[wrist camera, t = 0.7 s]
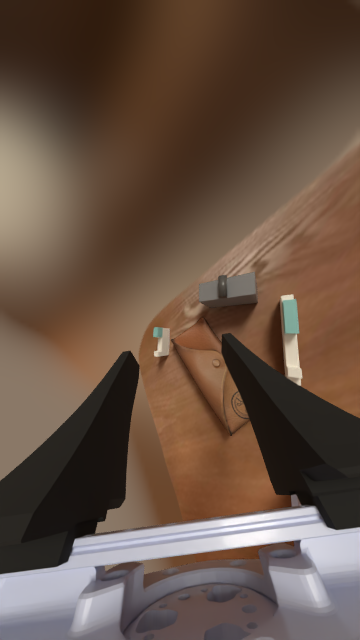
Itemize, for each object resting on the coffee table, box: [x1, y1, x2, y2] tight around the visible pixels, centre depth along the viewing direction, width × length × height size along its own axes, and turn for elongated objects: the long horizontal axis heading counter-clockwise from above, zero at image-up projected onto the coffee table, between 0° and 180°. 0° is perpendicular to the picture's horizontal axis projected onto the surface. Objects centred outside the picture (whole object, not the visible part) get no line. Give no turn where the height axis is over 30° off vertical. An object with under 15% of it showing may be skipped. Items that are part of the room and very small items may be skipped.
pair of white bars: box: [153, 295, 302, 385], centre depth 22 cm, size 11×23×4 cm, turn 87°
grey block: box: [199, 272, 258, 308], centre depth 20 cm, size 3×8×6 cm, turn 87°
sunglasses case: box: [171, 317, 250, 436], centre depth 22 cm, size 18×7×7 cm
